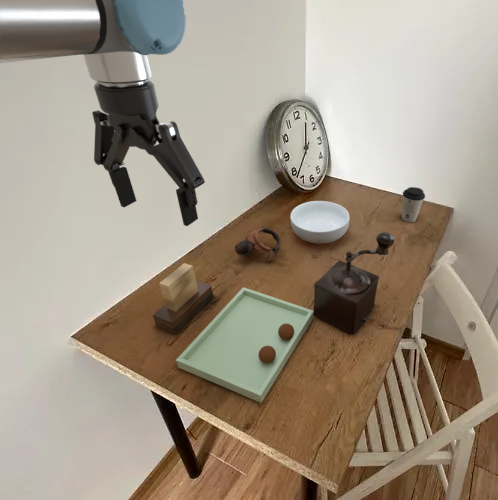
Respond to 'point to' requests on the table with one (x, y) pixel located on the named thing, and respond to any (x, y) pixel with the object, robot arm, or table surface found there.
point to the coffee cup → (412, 203)
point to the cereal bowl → (319, 221)
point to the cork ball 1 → (267, 354)
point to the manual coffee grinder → (349, 290)
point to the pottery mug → (258, 244)
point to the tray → (246, 343)
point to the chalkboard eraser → (181, 299)
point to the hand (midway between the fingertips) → (159, 212)
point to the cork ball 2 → (286, 331)
